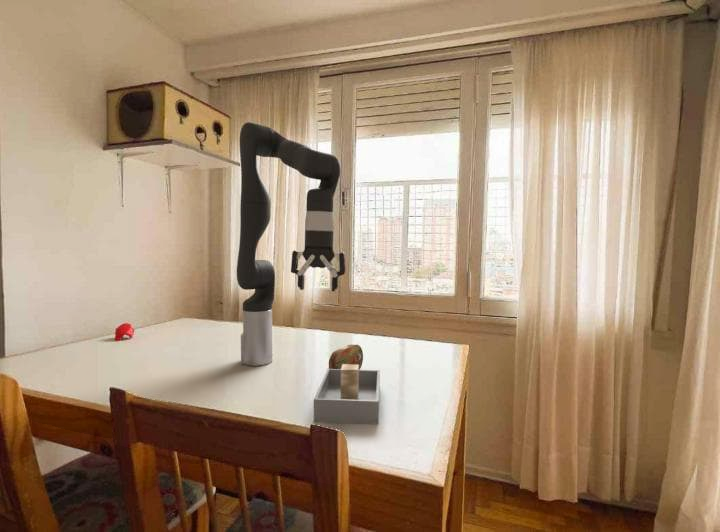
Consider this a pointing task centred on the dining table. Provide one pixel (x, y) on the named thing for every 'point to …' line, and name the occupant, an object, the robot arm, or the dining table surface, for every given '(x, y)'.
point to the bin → (348, 410)
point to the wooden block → (350, 381)
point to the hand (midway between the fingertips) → (317, 290)
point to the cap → (123, 331)
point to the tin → (346, 357)
